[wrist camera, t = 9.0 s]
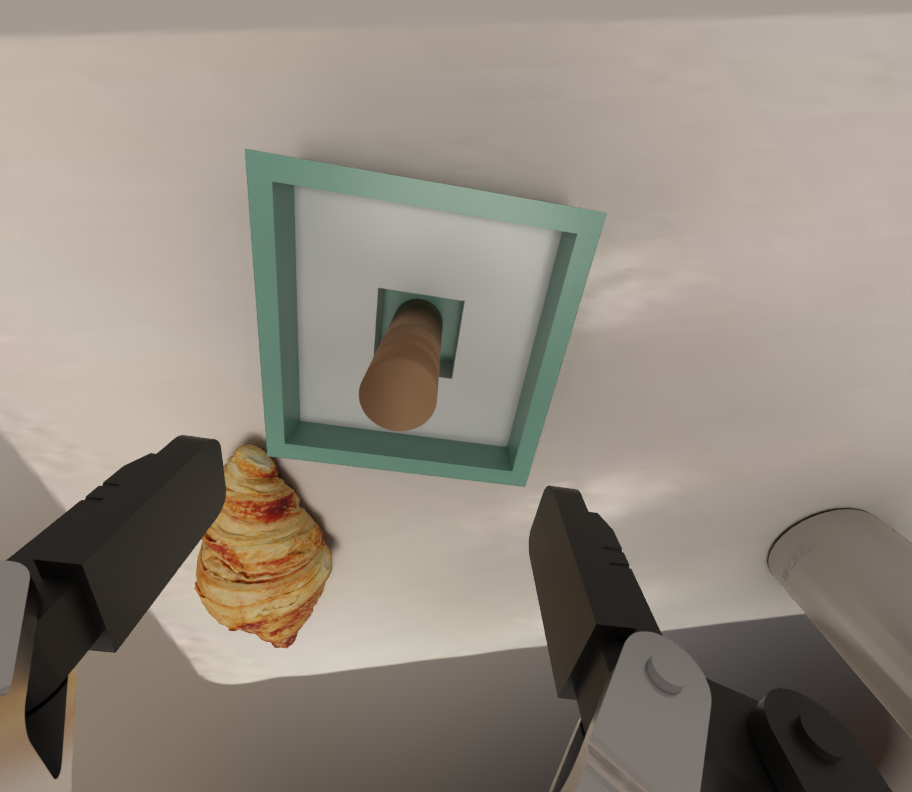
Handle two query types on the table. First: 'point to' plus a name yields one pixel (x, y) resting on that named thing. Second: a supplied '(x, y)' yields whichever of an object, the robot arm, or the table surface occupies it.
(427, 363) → the peg
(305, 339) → the box
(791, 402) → the table surface
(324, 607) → the table surface
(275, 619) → the croissant
